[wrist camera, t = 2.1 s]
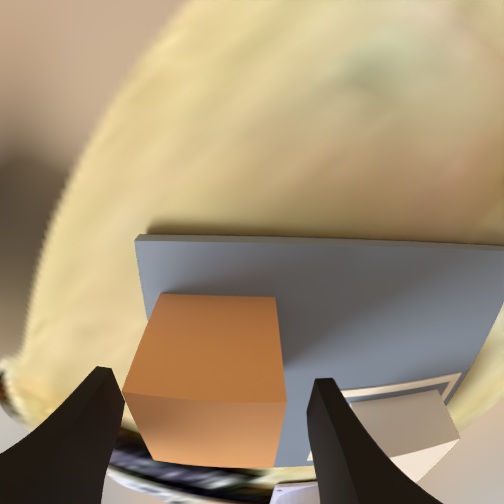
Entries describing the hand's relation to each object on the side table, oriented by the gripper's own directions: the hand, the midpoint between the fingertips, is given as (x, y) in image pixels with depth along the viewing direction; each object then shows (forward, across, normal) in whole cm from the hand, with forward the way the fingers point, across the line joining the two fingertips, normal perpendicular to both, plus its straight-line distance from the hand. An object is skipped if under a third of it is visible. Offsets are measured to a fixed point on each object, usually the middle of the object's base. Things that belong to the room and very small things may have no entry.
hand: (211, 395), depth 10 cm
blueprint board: (+4, -6, +5) cm, 8 cm away
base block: (+3, -10, +8) cm, 13 cm away
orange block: (+3, 0, 0) cm, 3 cm away
